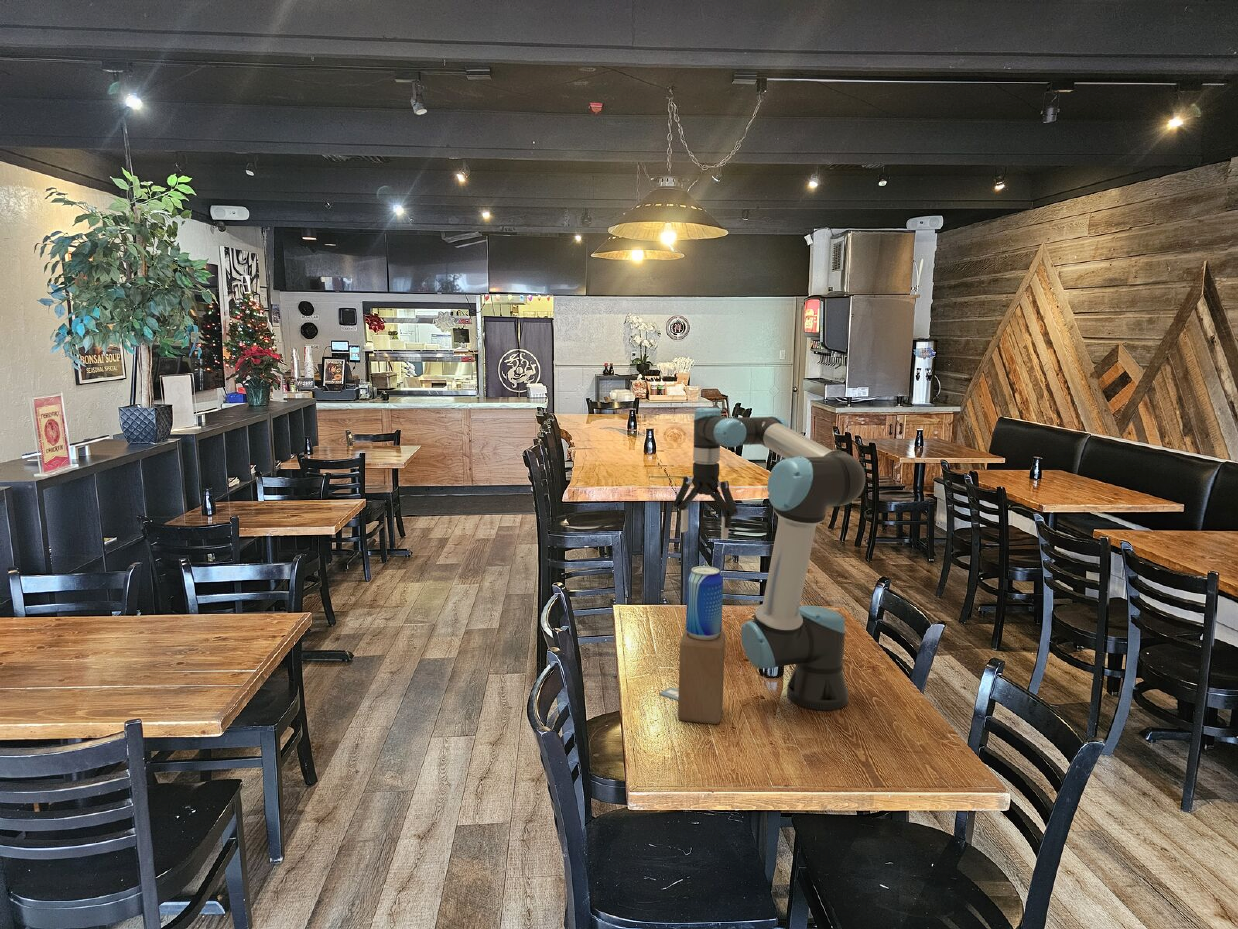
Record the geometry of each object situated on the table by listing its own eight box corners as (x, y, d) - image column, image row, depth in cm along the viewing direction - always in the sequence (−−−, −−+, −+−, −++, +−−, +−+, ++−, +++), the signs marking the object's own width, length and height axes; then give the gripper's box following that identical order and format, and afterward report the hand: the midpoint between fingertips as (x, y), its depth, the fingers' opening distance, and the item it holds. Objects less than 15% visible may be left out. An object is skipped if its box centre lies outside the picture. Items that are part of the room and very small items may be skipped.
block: (719, 726, 181) (722, 644, 179) (677, 721, 183) (679, 640, 181) (722, 707, 191) (725, 629, 188) (682, 703, 193) (684, 626, 190)
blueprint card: (696, 696, 197) (696, 695, 197) (685, 703, 193) (685, 701, 193) (670, 688, 202) (670, 686, 202) (659, 694, 198) (659, 692, 198)
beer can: (702, 626, 191) (704, 563, 188) (728, 635, 184) (730, 570, 182) (678, 634, 185) (680, 569, 183) (705, 644, 179) (707, 577, 177)
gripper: (751, 465, 216) (748, 539, 218) (677, 456, 231) (675, 526, 234) (738, 467, 210) (735, 544, 213) (662, 459, 225) (661, 530, 228)
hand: (704, 535), depth 223 cm, fingers open, 13 cm apart
